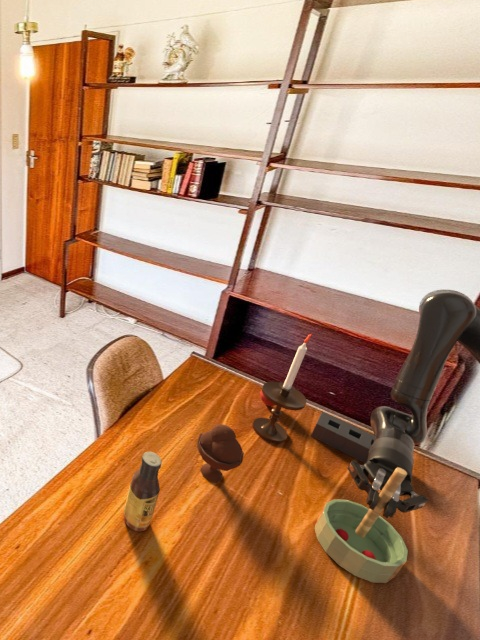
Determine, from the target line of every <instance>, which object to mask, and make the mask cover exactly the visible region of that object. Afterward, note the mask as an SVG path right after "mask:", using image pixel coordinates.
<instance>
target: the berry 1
mask: <svg viewBox="0 0 480 640" xmlns="http://www.w3.org/2000/svg"><path fill="white" fill-rule="evenodd" d="M336 533H337V534H338V535H339V536H340V537H341V538H342V539H343V540H344V541H347V540H348V538H349V536H348V534H347V532H346V531H344V530H343V529H337V530H336Z"/></svg>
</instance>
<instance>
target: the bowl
mask: <svg viewBox="0 0 480 640" xmlns="http://www.w3.org/2000/svg"><path fill="white" fill-rule="evenodd" d="M369 509H370V508H369V507H366V506H365V505H363V504H361V503H358V502H355V501H352V500H349V499H338V498H334V499H332V500H330V501H328V502H326V503H325V505H324V506H323V508H322V509H321V512H320V513H319V515H318V517H317V519H316V521H315V525H314V532H315V535H316V539H317V541H318V543H319V545H320V546H321V547H322V549H323V550H324V552H325V553H326V555H328V556H329V557H330V558H331V559H332V560H333V561H334V562H335V563H336V564H337V565H338V566H340V567H341V568H342V569H343V570H345V571H347V572H348V573H350V574H352V575H353V576H355V577H357V578H359V579H362V580H365V581H367V582H370V583H376V584H377V583H378V584H387V583H388V582H390V581H391V580H393V579H394V578H395V577H396V576H397V575H398V573H399V572H400V571H401V570H402V568H403V567H404V565H405V564H406V563H407V561H408V554H409V550H408V547H407V545H406V543H405V541H404V539H403V537H402V536H401V535H400V533H399V532H398V531H397V530H396V528H395V527H394V526H393V525H392V524H391V523H390V522H389V521H387V520H386V518H383V516H381V514H380V515H379V517H378V518H377V520H376V521H375V523H374V524H373V526H372V527H371V528H370V530H369V531H368V533H367V534H366V536H365V537H364V538H363V537H360V536H358V535H357V534H356V532H355V531H356V529H357V527H358V526H359V524H360V523H361V521H362V520H363V518H364V517H365V515H366V514H367V512H368V511H369ZM337 529H343V530H344V531H346V532H347V534H348V536H349V538H348V540H347V541H344V540H343V539H342V538H341V537H340V536H339V535H338V534H337V533H336V530H337ZM364 550H367V551H370V552H372V553H373V554H374V556H375V558H376V560H375V559H372V558H369V557H367V556H365V555H363V554H362V551H364Z"/></svg>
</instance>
